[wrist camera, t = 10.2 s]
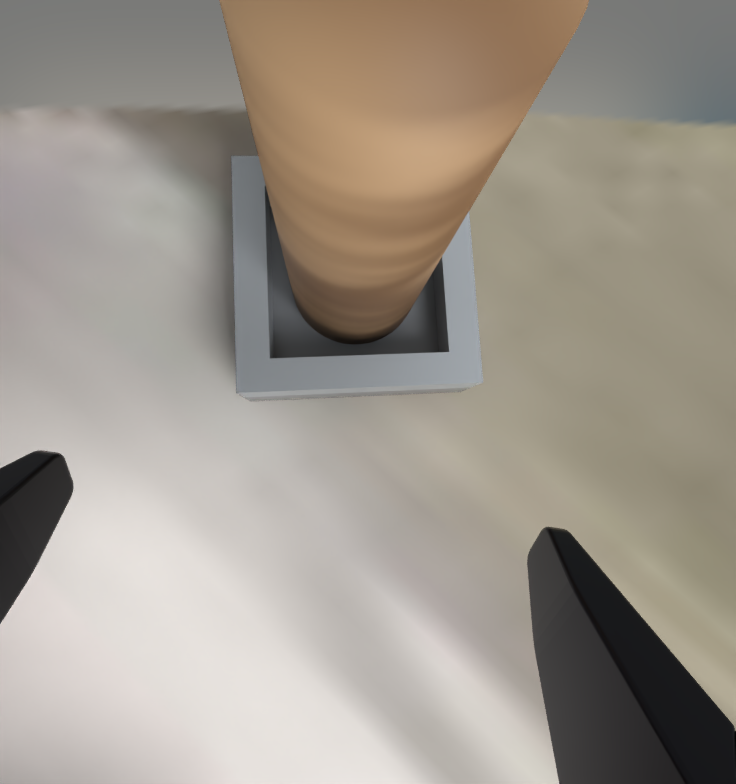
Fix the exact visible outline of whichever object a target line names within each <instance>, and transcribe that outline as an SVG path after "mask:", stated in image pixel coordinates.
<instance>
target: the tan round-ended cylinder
mask: <svg viewBox="0 0 736 784" xmlns="http://www.w3.org/2000/svg"><path fill="white" fill-rule="evenodd" d="M219 1H220V5H221V9H222V13H223V17H224V20H225V24H226V29H227V33H228V37H229V41H230V44H231V48H232V53H233V56H234V61H235V65H236V68H237V73H238V77H239V81H240V85H241V89H242V92H243V96H244V100H245V104H246V108H247V112H248V116H249V120H250V124H251V128H252V132H253V136H254V140H255V144H256V148H257V152H258V156H259V160H260V164H261V168H262V172H263V176H264V180H265V184H266V188H267V192H268V196H269V200H270V204H271V208H272V212H273V216H274V220H275V224H276V228H277V232H278V236H279V240H280V244H281V248H282V252H283V256H284V260H285V264H286V268H287V272H288V276H289V280H290V284H291V288H292V292H293V296H294V300H295V303H296V306H297V308H298V310H299V312H300V314H301V315H302V317H303V318H304V320H305V321H306V322H307V323H308V324H309V325H310V326H311V327H312V328H313V329H314V330H315V331H317V332H318V333H320V334H321V335H323V336H324V337H326V338H328V339H331V340H333V341H336V342H340V343H345V344H365V343H371V342H374V341H377V340H379V339H381V338H384V337H386V336H387V335H389V334H390V333H392V332H393V331H394V330H395V329H396V328H398V327H399V325H400V324H401V323H402V322H403V321H404V319H405V318H406V316H407V315H408V313H409V311H410V310H411V308H412V306H413V305H414V303H415V301H416V300H417V298H418V296H419V295H420V293H421V291H422V290H423V288H424V286H425V284H426V283H427V281H428V279H429V278H430V276H431V274H432V273H433V271H434V269H435V268H436V266H437V264H438V263H439V261H440V259H441V257H442V256H443V254H444V252H445V251H446V249H447V247H448V246H449V244H450V242H451V241H452V239H453V237H454V235H455V234H456V232H457V230H458V229H459V227H460V225H461V224H462V222H463V220H464V219H465V217H466V215H467V214H468V212H469V210H470V208H471V207H472V205H473V203H474V202H475V200H476V198H477V197H478V195H479V193H480V192H481V190H482V188H483V187H484V185H485V183H486V181H487V180H488V178H489V176H490V175H491V173H492V171H493V170H494V168H495V166H496V165H497V163H498V161H499V160H500V158H501V156H502V154H503V153H504V151H505V149H506V148H507V146H508V144H509V143H510V141H511V139H512V138H513V136H514V134H515V133H516V131H517V129H518V127H519V126H520V124H521V122H522V121H523V119H524V117H525V116H526V114H527V112H528V111H529V109H530V107H531V105H532V104H533V102H534V100H535V99H536V97H537V95H538V94H539V92H540V90H541V89H542V87H543V85H544V84H545V82H546V80H547V78H548V77H549V75H550V73H551V72H552V70H553V68H554V67H555V65H556V63H557V62H558V60H559V58H560V57H561V55H562V53H563V51H564V50H565V48H566V46H567V45H568V43H569V41H570V40H571V38H572V36H573V35H574V33H575V31H576V30H577V28H578V26H579V23H580V21H581V19H582V17H583V15H584V13H585V11H586V9H587V5H588V2H589V0H219Z"/></svg>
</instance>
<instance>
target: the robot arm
mask: <svg viewBox="0 0 736 784" xmlns="http://www.w3.org/2000/svg"><path fill="white" fill-rule="evenodd" d="M72 492H73V480H72V478H71V475H70V472H69V469H68V466H67V463H66V461H65V458H64V456H63V455H61V454H60V453H55V452H49V451H41V450H40V451H34V452H32V453H30V454H28V455H26V456H24V457H22V458H20V459H18V460H16V461H14V462H12V463H10V464H8V465H6V466H4V467H2V468H0V624H1V622H2V620H3V619H4V617H5V616H6V614H7V613H8V611H9V609H10V608H11V606H12V605H13V603H14V602H15V600H16V598H17V597H18V595H19V594H20V592H21V591H22V589H23V587H24V586H25V584H26V583H27V581H28V579H29V578H30V576H31V574H32V573H33V571H34V569H35V567H36V565H37V563H38V562H39V560H40V558H41V556H42V554H43V552H44V550H45V548H46V546H47V544H48V542H49V540H50V538H51V536H52V534H53V532H54V530H55V528H56V526H57V524H58V522H59V520H60V518H61V516H62V514H63V512H64V510H65V508H66V506H67V504H68V502H69V500H70V498H71V495H72ZM527 566H528V579H529V592H530V605H531V618H532V631H533V640H534V648H535V654H536V660H537V666H538V671H539V676H540V682H541V687H542V693H543V698H544V703H545V709H546V714H547V720H548V725H549V730H550V736H551V741H552V746H553V752H554V757H555V763H556V768H557V773H558V779H559V784H736V731H735V728H734V725H733V724H732V723H731V722H730V721H729V719H728V718H727V717H726V716H725V715H724V713H723V712H722V711H721V710H720V709H719V708H718V706H717V705H716V704H715V703H714V702H713V701H712V699H711V698H710V697H709V696H708V695H707V693H706V692H705V691H704V690H703V689H702V688H701V686H700V685H699V684H698V683H697V682H696V680H695V679H694V678H693V677H692V676H691V675H690V673H689V672H688V671H687V670H686V669H685V668H684V666H683V665H682V664H681V663H680V662H679V660H678V659H677V658H676V657H675V656H674V655H673V653H672V652H671V651H670V650H669V649H668V647H667V646H666V645H665V644H664V643H663V642H662V640H661V639H660V638H659V637H658V636H657V635H656V633H655V632H654V631H653V630H652V629H651V627H650V626H649V625H648V624H647V623H646V622H645V620H644V619H643V618H642V617H641V616H640V614H639V613H638V612H637V611H636V610H635V609H634V607H633V606H632V605H631V604H630V603H629V602H628V600H627V599H626V598H625V597H624V596H623V594H622V593H621V592H620V591H619V590H618V589H617V587H616V586H615V585H614V584H613V583H612V581H611V580H610V579H609V578H608V577H607V576H606V574H605V573H604V572H603V571H602V570H601V569H600V567H599V566H598V565H597V564H596V563H595V561H594V560H593V559H592V558H591V557H590V556H589V554H588V553H587V552H586V551H585V550H584V549H583V547H582V546H581V545H580V544H579V543H578V541H577V540H576V539H575V538H574V537H573V536H572V534H571V533H570V532H568V531H567V530H565V529H560V528H553V527H545V528H543V529H542V531H541V532H540V534H539V536H538V537H537V539H536V541H535V542H534V544H533V546H532V548H531V549H530V551H529V554H528V560H527Z"/></svg>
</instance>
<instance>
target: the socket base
mask: <svg viewBox="0 0 736 784" xmlns="http://www.w3.org/2000/svg"><path fill="white" fill-rule="evenodd" d="M231 166H232V213H233V259H234V306H235V352H236V393H237V394H239V395H241V396H242V397H244V398H246V399H248V400H249V401H265V400H287V399H310V398H333V397H355V396H378V395H400V394H423V393H446V392H461V391H464V390H466V389H468V388H471V387H473V386H476V385H478V384H481V383H483V375H482V363H481V351H480V339H479V326H478V314H477V302H476V290H475V278H474V265H473V253H472V241H471V229H470V217H469V212H468V214H467V215H466V217H465V219H464V220H463V222H462V224H461V225H460V227H459V229H458V230H457V232H456V234H455V235H454V237H453V239H452V241H451V242H450V244H449V246H448V247H447V249H446V251H445V252H444V254H443V256H442V257H441V259H440V261H439V263H438V264H437V266H436V268H435V269H434V271H433V273H432V274H431V276H430V278H429V279H428V281H427V283H426V284H425V286H424V288H423V290H422V291H421V293H420V295H419V296H418V298H417V300H416V301H415V303H414V305H413V306H412V308H411V310H410V311H409V313H408V315H407V316H406V318H405V319H404V321H403V322H402V323H401V324H400V325H399V327H398V328H396V329H395V330H394V331H393V332H392V333H390V334H389V335H387V336H386V337H384V338H381V339H379V340H377V341H374V342H371V343H365V344H345V343H340V342H336V341H333V340H331V339H328V338H326V337H324V336H323V335H321V334H320V333H318V332H317V331H315V330H314V329H313V328H312V327H311V326H310V325H309V324H308V323H307V322H306V321H305V320H304V318H303V317H302V315H301V314H300V312H299V310H298V308H297V306H296V303H295V300H294V296H293V292H292V288H291V284H290V280H289V276H288V272H287V268H286V264H285V260H284V256H283V252H282V248H281V244H280V240H279V236H278V232H277V228H276V224H275V220H274V216H273V212H272V208H271V204H270V200H269V196H268V192H267V188H266V184H265V180H264V176H263V172H262V168H261V164H260V160H259V156H231Z"/></svg>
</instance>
